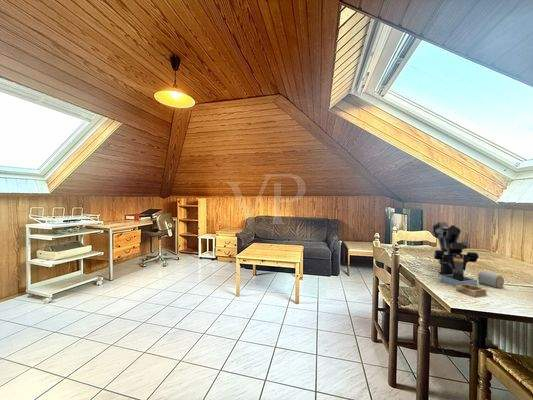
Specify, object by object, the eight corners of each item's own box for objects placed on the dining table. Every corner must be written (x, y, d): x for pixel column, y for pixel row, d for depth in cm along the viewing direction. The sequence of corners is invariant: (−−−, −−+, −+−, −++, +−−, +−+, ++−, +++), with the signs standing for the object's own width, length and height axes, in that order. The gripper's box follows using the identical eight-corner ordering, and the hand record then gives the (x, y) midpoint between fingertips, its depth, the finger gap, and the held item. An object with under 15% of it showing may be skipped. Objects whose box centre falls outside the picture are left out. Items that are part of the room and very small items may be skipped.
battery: (450, 279, 125) (450, 254, 125) (457, 279, 126) (456, 254, 126) (459, 282, 120) (459, 256, 120) (466, 282, 121) (465, 256, 122)
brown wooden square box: (454, 292, 114) (453, 285, 114) (467, 290, 116) (467, 283, 116) (474, 299, 105) (474, 291, 105) (488, 297, 107) (488, 289, 107)
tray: (441, 282, 127) (440, 275, 127) (455, 281, 129) (455, 273, 130) (461, 289, 117) (461, 281, 117) (476, 287, 119) (476, 280, 119)
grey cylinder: (497, 290, 116) (497, 275, 116) (477, 285, 123) (477, 270, 123) (508, 287, 120) (508, 273, 120) (488, 282, 127) (488, 268, 127)
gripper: (434, 235, 131) (440, 259, 121) (476, 237, 123) (486, 263, 113) (431, 247, 138) (436, 270, 128) (471, 249, 130) (480, 274, 120)
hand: (459, 269), depth 122 cm, fingers closed on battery, 4 cm apart
